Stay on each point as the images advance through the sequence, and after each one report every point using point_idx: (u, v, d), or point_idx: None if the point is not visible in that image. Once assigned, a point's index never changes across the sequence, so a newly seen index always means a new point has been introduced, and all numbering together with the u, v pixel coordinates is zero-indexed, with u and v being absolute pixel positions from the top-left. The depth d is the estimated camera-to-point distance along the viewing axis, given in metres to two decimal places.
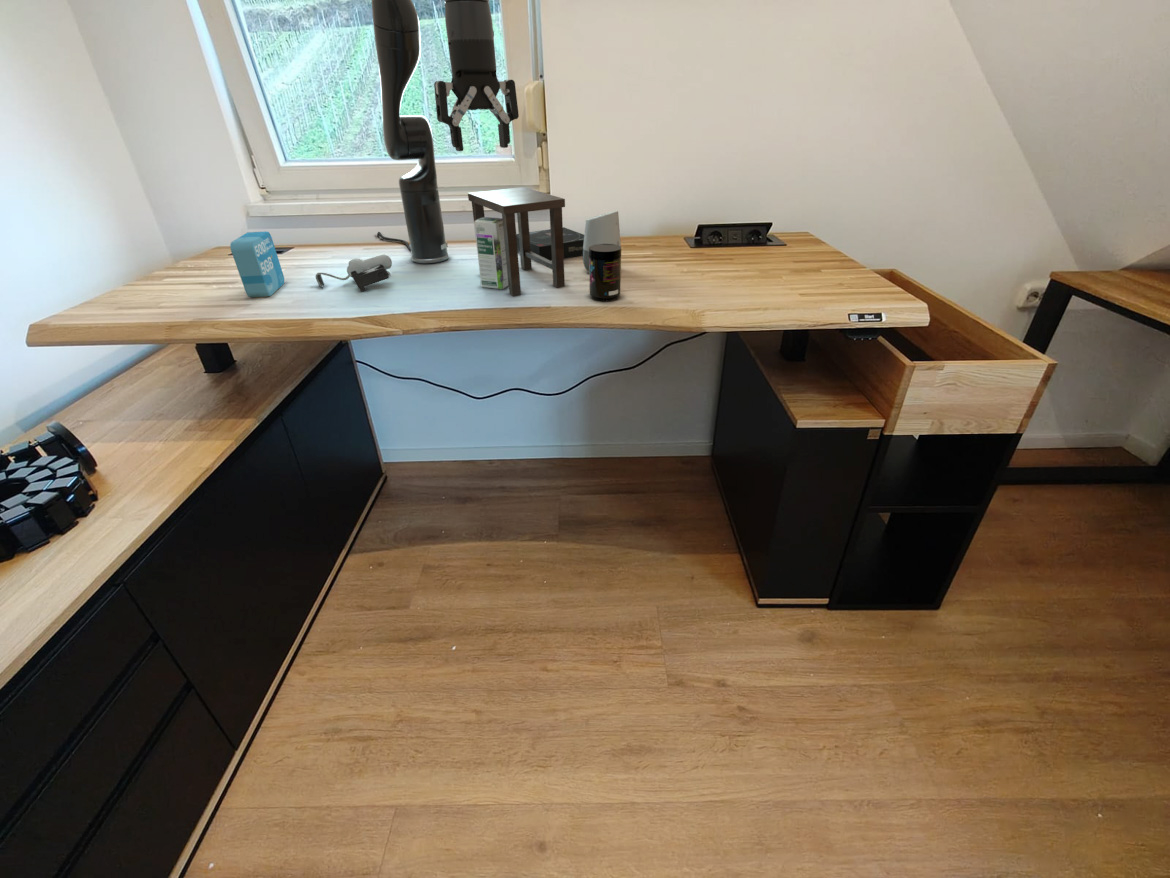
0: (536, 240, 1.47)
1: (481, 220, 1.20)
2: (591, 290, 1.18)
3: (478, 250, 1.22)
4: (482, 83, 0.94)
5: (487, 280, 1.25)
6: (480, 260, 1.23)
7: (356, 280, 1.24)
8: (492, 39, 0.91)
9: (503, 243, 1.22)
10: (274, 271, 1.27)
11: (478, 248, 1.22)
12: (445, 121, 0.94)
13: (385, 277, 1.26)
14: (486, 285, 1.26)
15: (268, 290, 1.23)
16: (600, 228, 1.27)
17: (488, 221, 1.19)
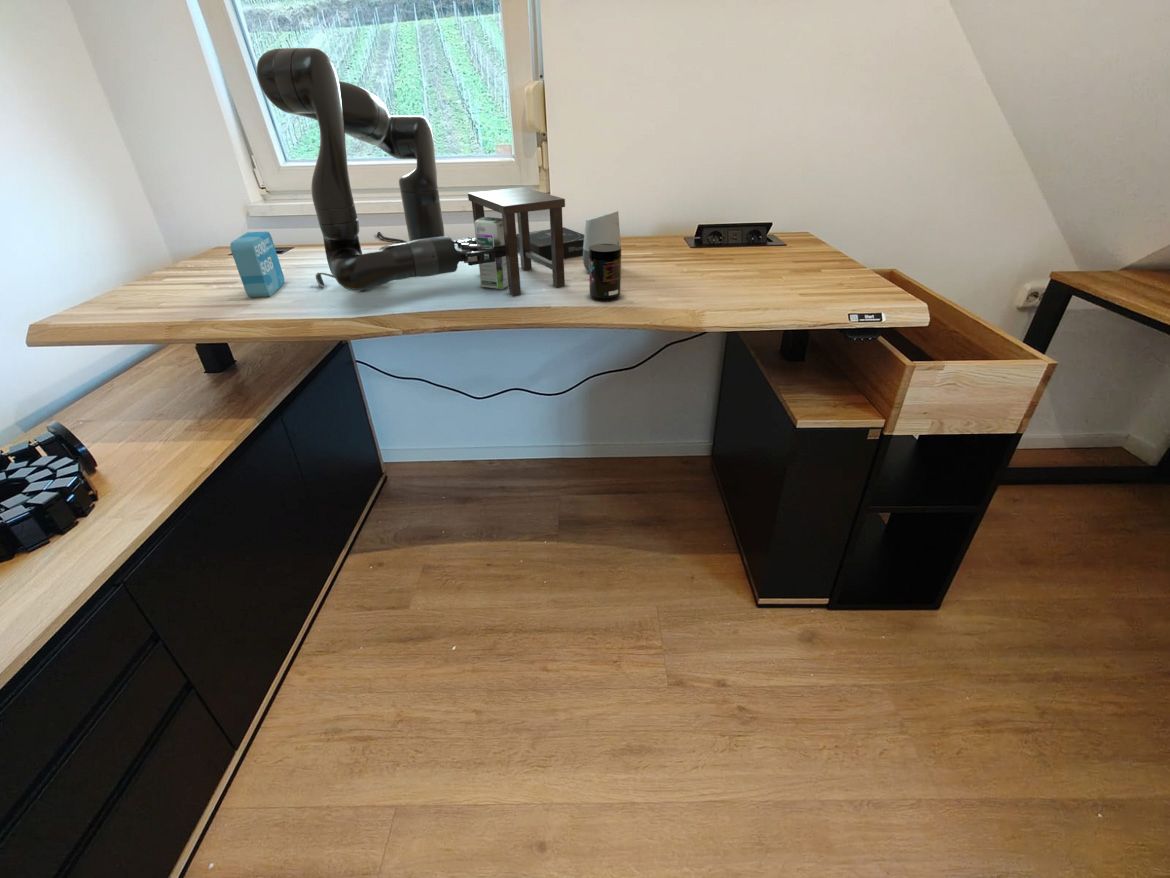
0: (536, 240, 1.47)
1: (481, 220, 1.20)
2: (591, 290, 1.18)
3: (478, 250, 1.22)
4: None
5: (487, 280, 1.25)
6: None
7: None
8: (438, 271, 1.17)
9: (503, 243, 1.22)
10: (274, 271, 1.27)
11: None
12: None
13: None
14: (486, 285, 1.26)
15: (268, 290, 1.23)
16: (600, 228, 1.27)
17: (489, 221, 1.19)
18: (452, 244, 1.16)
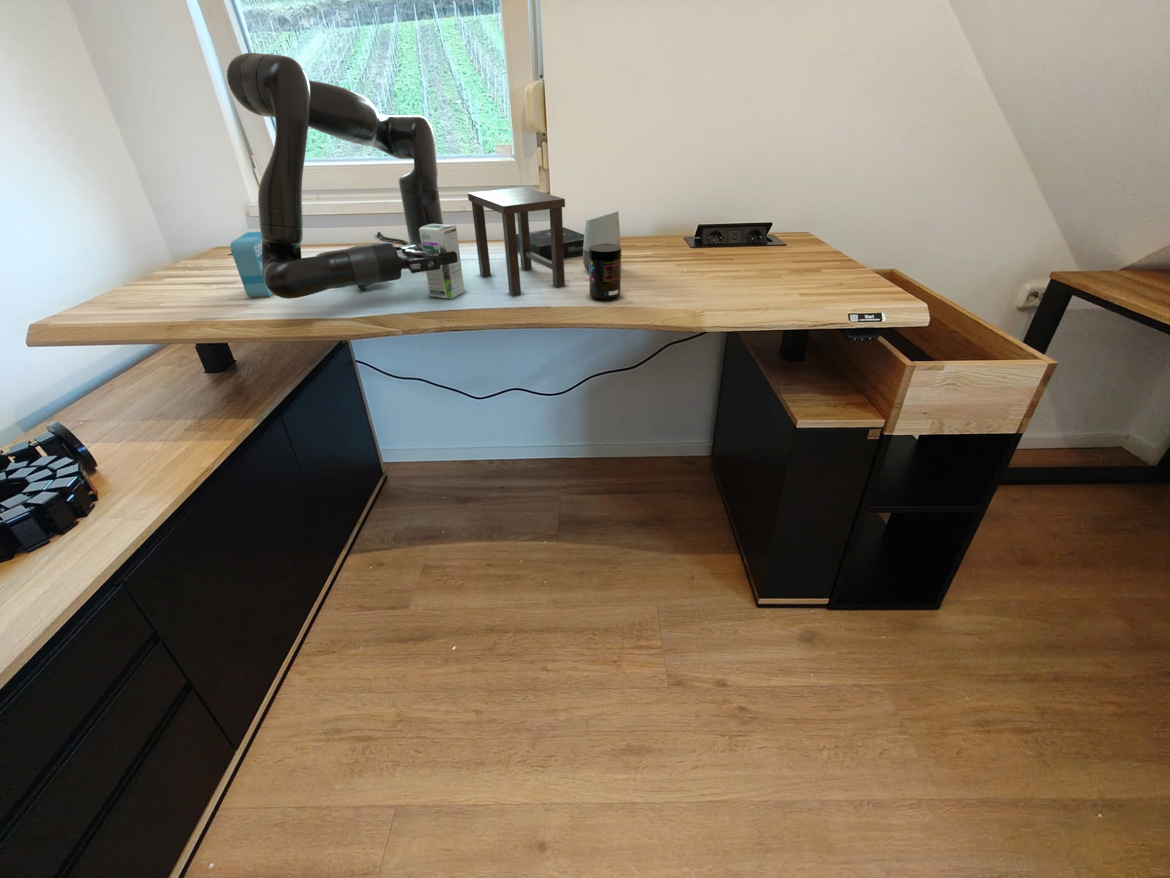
0: (536, 240, 1.47)
1: (426, 227, 1.15)
2: (591, 290, 1.18)
3: None
4: None
5: (435, 289, 1.20)
6: None
7: None
8: (380, 279, 1.12)
9: (450, 251, 1.17)
10: None
11: None
12: None
13: None
14: (435, 294, 1.21)
15: (268, 290, 1.23)
16: (600, 228, 1.27)
17: (434, 228, 1.14)
18: (394, 251, 1.11)
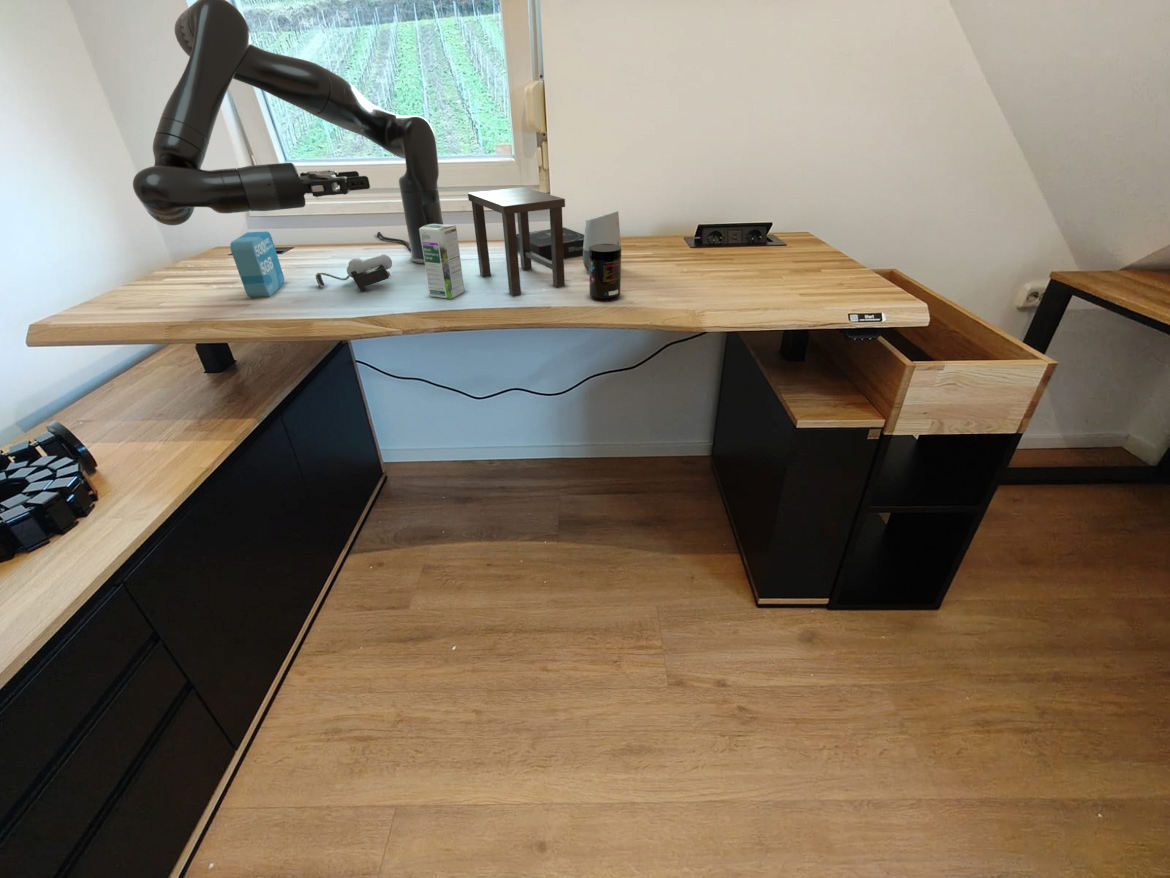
0: (536, 240, 1.47)
1: (426, 227, 1.15)
2: (591, 290, 1.18)
3: (425, 258, 1.17)
4: None
5: (435, 289, 1.20)
6: (427, 269, 1.18)
7: (356, 280, 1.24)
8: (279, 204, 1.00)
9: (450, 251, 1.17)
10: (274, 271, 1.27)
11: (425, 256, 1.17)
12: None
13: (385, 277, 1.25)
14: (435, 294, 1.21)
15: (268, 290, 1.23)
16: (600, 228, 1.27)
17: (434, 228, 1.14)
18: (294, 171, 0.99)
